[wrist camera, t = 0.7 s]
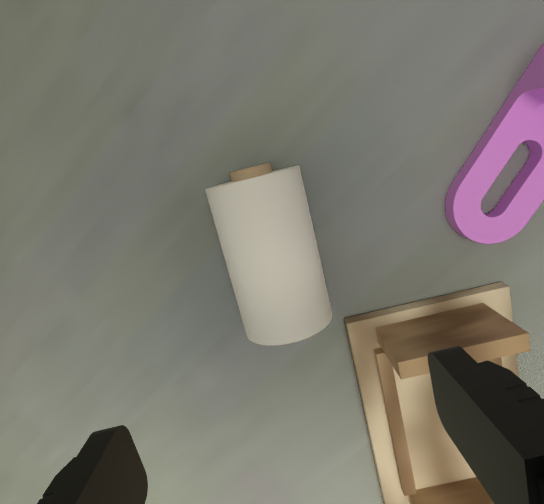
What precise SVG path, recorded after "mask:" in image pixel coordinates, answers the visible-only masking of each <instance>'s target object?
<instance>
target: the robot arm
mask: <svg viewBox="0 0 544 504" xmlns="http://www.w3.org/2000/svg"><path fill="white" fill-rule="evenodd" d="M428 365H429V371H430V377H431V382H432V388H433V394H434V399H435V405H436V409H437V412H438V415H439V418H440V420H441V423H442V425H443V427H444V429H445V430H446V432H447V434H448V435H449V437H450V438H451V440H452V441H453V443H454V444H455V446H456V447H457V449H458V450H459V452H460V453H461V455H462V456H463V458H464V459H465V461H466V462H467V464H468V465H469V467H470V468H471V470H472V471H473V473H474V474H475V476H476V477H477V478H478V480H479V481H480V483H481V484H482V486H483V487H484V489H485V490H486V492H487V493H488V495H489V496H490V498H491V499H492V501H493V502H494V504H544V399H541V397H540V395H539V394H538V393H536V392H535V391H534V390H533V389H532V388H531V387H527V385H526V383H525V382H524V381H522V380H521V379H520V378H519V377H518V376H517V375H515V374H514V373H513V372H512V371H511V370H509V369H507V368H504V367H502V366H500V365H498V364H495V363H493V362H491V361H488V360H487V361H483V362H479V363H477V362H476V361H475V360H474V359H473V358H472V357H471V356H470V355H469V354H468V353H467V352H466V351H465V350H464V349H463V348H461V347H460V346H454V347H450V348H446V349H442V350H437V351H433V352H429V353H428ZM147 489H148V483H147V475H146V472H145V469H144V467H143V464H142V462H141V459H140V457H139V454H138V452H137V449H136V447H135V444H134V442H133V440H132V437H131V435H130V432H129V430H128V429H127V428H126V427H125V426H123V425H121V426H117V427H112V428H108V429H104V430H100V431H96V432H93V433H92V434H91V435H90V436H89V438H88V440H87V441H86V443H85V444H84V446H83V448H82V449H81V451H80V452H79V454H78V455H77V457H74V458H73V459H72V460H71V461H70V462H69V463H68V464H67V465H66V466H65V467H64V468H63V469H62V470H61V471H60V472H59V473H58V474H57V475H56V476H55V477H54V479H53V480H52V482H51V484H50V485H49V487H48V488H47V490H46V491H45V493H44V494H43V499H40V500H39V502H38V503H37V504H145V501H146V497H147Z"/></svg>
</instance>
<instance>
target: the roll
mask: <svg viewBox="0 0 544 504" xmlns="http://www.w3.org/2000/svg"><path fill="white" fill-rule="evenodd" d="M229 174H230V177H231V181H230V182H227V183H223V184H219V185H216V186H213V187H210V188H207V189H205V191H206V195H207V198H208V202H209V205H210V209H211V212H212V216H213V219H214V223H215V226H216V230H217V233H218V237H219V240H220V244H221V247H222V251H223V254H224V258H225V261H226V265H227V268H228V272H229V275H230V279H231V282H232V286H233V290H234V293H235V297H236V300H237V304H238V307H239V311H240V314H241V318H242V321H243V325H244V328H245V332H246V335H247V338H248V339H249V340H250V341H252V342H254V343H256V344H260V345H284V344H289V343H294V342H297V341H301V340H304V339H306V338H309V337H311V336H313V335H315V334H317V333H318V332H320V331H322V330H323V329H324V328H325V327H327V326H328V324H329V323H330V322H331V320H332V317H333V314H332V310H331V305H330V301H329V296H328V292H327V287H326V283H325V278H324V274H323V269H322V265H321V260H320V256H319V251H318V247H317V242H316V238H315V233H314V229H313V224H312V220H311V215H310V211H309V206H308V202H307V197H306V193H305V188H304V184H303V179H302V175H301V171H300V166H299V165H298V166H292V167H287V168H282V169H278V170H274V171H272V168H271V164H270V163H266V164H261V165H257V166H253V167H250V168H246V169H242V170H238V171H234V172H230V173H229Z"/></svg>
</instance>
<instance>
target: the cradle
mask: <svg viewBox="0 0 544 504" xmlns="http://www.w3.org/2000/svg"><path fill="white" fill-rule="evenodd" d="M344 321H345V326H346V330H347V335H348V340H349V344H350V349H351V354H352V358H353V363H354V368H355V372H356V377H357V381H358V386H359V391H360V395H361V400H362V405H363V409H364V414H365V418H366V423H367V428H368V432H369V437H370V442H371V446H372V451H373V455H374V460H375V465H376V469H377V474H378V479H379V483H380V488H381V493H382V497H383V502H384V504H494V502H493V501H492V499H491V498H490V496H489V495H488V493H487V492H486V490H485V489H484V487H483V486H482V484H481V483H480V481H479V480H478V478H477V477H476V476H475V474H474V473H473V471H472V470H471V468H470V467H469V465H468V464H467V462H466V461H465V459H464V458H463V456H462V455H461V453H460V452H459V450H458V449H457V447H456V446H455V444H454V443H453V441H452V440H451V438H450V437H449V435H448V434H447V432H446V430H445V429H444V427H443V425H442V423H441V420H440V418H439V415H438V412H437V409H436V405H435V399H434V394H433V388H432V382H431V377H430V371H429V365H428V353H429V352H433V351H437V350H442V349H446V348H450V347H454V346H460V347H461V348H463V349H464V350H465V351H466V352H467V353H468V354H469V355H470V356H471V357H472V358H473V359H474V360H475V361H476V362H477V363H479V362H483V361H487V360H488V361H491V362H493V363H495V364H498V365H500V366H502V367H504V368H507V369H509V370H511V371H512V372H513V373H514V374H515V375H517V376H518V367H517V358H516V354H518V353H522V352H526V351H530V341H529V333H528V332H526V331H525V330H523V329H522V328H520V327H519V326H517V325H516V324H514V323H513V318H512V309H511V299H510V289H509V286H508V285H506V284H504V283H502V282H499V283H494V284H490V285H486V286H481V287H477V288H473V289H469V290H464V291H460V292H456V293H451V294H447V295H443V296H438V297H434V298H430V299H426V300H421V301H417V302H413V303H408V304H404V305H400V306H395V307H391V308H387V309H383V310H378V311H374V312H370V313H365V314H361V315H357V316H352V317H348V318H344Z"/></svg>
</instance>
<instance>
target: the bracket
mask: <svg viewBox="0 0 544 504" xmlns="http://www.w3.org/2000/svg"><path fill="white" fill-rule="evenodd" d="M522 142H524V143H526V144H527V145H528V147H529V150H530V155H529V158H528V160H527V162H526V163H525V165H524V166H523V168H522V169H521V171H520V172H519V174H518V175H517V177H516V178H515V179H514V181H513V182H512V184H511V185H510V187H509V188H508V190H507V191H506V192H505V194H504V195H503V197H502V198H501V200H500V201H499V203H498V204H497V206H496V207H495V208H494V210H493V211H492V212H490V213H488V214H486V215H485V214H484V213H483V212H482V210H481V201H482V199H483V197H484V196H485V194H486V193H487V191H488V190H489V188H490V187H491V185H492V184H493V182H494V181H495V179H496V178H497V176H498V175H499V173H500V172H501V170H502V169H503V167H504V166H505V165H506V163H507V162H508V160H509V159H510V157H511V156H512V154H513V153H514V151H515V150H516V148H517V147H518V146H519V145H520V144H521V143H522ZM543 200H544V43H543V45H542V46H541V48H540V49H539V51H538V52H537V54H536V55H535V57H534V58H533V60H532V61H531V63H530V64H529V66H528V68H527V69H526V71H525V72H524V74H523V75H522V77H521V78H520V80H519V81H518V83H517V84H516V86H515V87H514V89H513V91H512V92H511V94H510V95H509V97H508V98H507V100H506V101H505V103H504V104H503V106H502V107H501V109H500V110H499V112H498V114H497V115H496V117H495V118H494V120H493V121H492V123H491V124H490V126H489V127H488V129H487V130H486V132H485V133H484V135H483V136H482V138H481V140H480V141H479V143H478V144H477V146H476V147H475V149H474V150H473V152H472V153H471V155H470V156H469V158H468V159H467V161H466V163H465V164H464V166H463V167H462V169H461V170H460V172H459V173H458V175H457V176H456V178H455V179H454V181H453V182H452V184H451V186H450V188H449V190H448V193H447V196H446V201H445V211H446V216H447V219H448V221H449V223H450V225H451V227H452V228H453V229H454V230H455V231H456V232H457V233H458V234H460V235H461V236H463V237H465V238H468V239H470V240H473V241H475V242H479V243H484V244H494V243H499V242H503V241H505V240H507V239H510V238H511V237H513V236H514V235H516V234H517V233H518V232H519V231H521V230H522V229H523V227H524V226H525V225H526V224H527V222H528V221H529V220H530V218H531V217H532V215H533V214H534V213H535V211H536V210H537V208H538V207H539V206H540V204H541V203H542V201H543Z"/></svg>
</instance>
